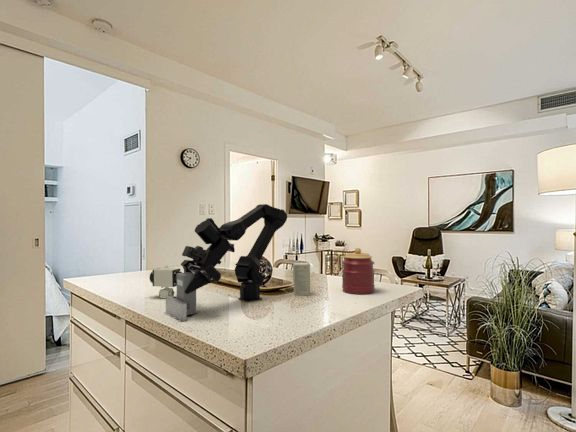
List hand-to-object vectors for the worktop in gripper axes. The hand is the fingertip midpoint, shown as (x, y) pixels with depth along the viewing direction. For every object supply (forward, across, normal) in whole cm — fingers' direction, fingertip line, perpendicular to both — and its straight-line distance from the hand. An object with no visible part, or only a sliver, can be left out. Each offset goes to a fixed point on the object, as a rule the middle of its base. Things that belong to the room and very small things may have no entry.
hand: (182, 291), depth 102 cm
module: (+4, 0, +6) cm, 7 cm away
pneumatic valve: (+2, -27, +9) cm, 28 cm away
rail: (+6, 0, +4) cm, 7 cm away
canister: (-43, +14, +53) cm, 70 cm away
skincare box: (-28, +3, +38) cm, 48 cm away
